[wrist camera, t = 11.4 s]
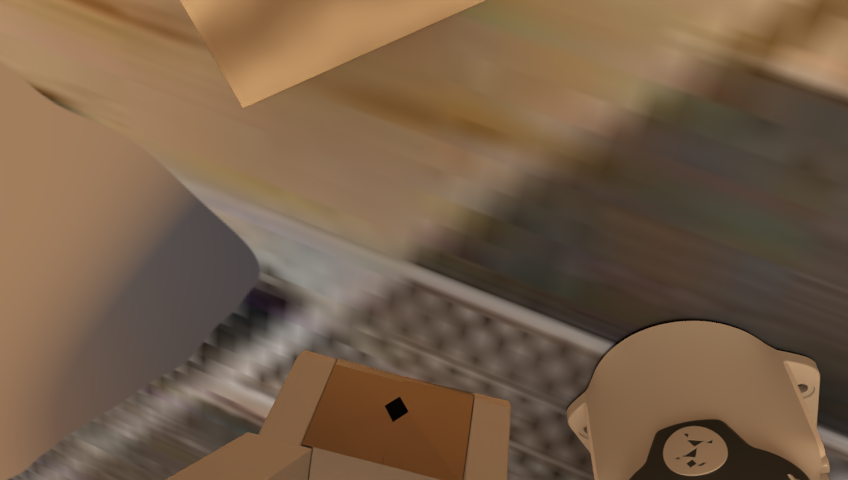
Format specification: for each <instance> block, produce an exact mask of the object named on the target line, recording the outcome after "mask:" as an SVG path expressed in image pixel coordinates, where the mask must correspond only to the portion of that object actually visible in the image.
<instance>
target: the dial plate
mask: <svg viewBox="0 0 848 480" xmlns="http://www.w3.org/2000/svg"><path fill="white" fill-rule="evenodd" d="M180 1H181V3H182V4H183V6H184V8H185V10H186V11H187V13H188V15H189V16H190V18H191V20H192V21H193V23H194V25H195V27H196V28H197V30H198V32H199V33H200V35H201V37H202V39H203V40H204V42H205V44H206V45H207V47H208V49H209V51H210V52H211V54H212V56H213V57H214V59H215V61H216V63H217V64H218V66H219V68H220V69H221V71H222V73H223V74H224V76H225V78H226V80H227V81H228V83H229V85H230V86H231V88H232V90H233V92H234V93H235V95H236V97H237V98H238V100H239V102H240V104H241V105H242V107H243V108H244V107H247V106H249V105H251V104H253V103H256V102H258V101H260V100H262V99H265V98H267V97H269V96H271V95H274V94H276V93H278V92H280V91H283V90H285V89H287V88H289V87H292V86H294V85H296V84H298V83H301V82H303V81H305V80H307V79H310V78H312V77H314V76H316V75H319V74H321V73H323V72H325V71H328V70H330V69H332V68H334V67H337V66H339V65H341V64H343V63H346V62H348V61H350V60H352V59H355V58H357V57H359V56H361V55H364V54H366V53H368V52H370V51H373V50H375V49H377V48H379V47H382V46H384V45H386V44H388V43H391V42H393V41H395V40H397V39H400V38H402V37H404V36H406V35H409V34H411V33H413V32H415V31H418V30H420V29H422V28H424V27H427V26H429V25H431V24H433V23H436V22H438V21H440V20H442V19H445V18H447V17H449V16H451V15H454V14H456V13H458V12H460V11H463V10H465V9H467V8H469V7H472V6H474V5H476V4H478V3H481V2H483V1H485V0H180Z"/></svg>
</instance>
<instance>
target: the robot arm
mask: <svg viewBox="0 0 848 480" xmlns="http://www.w3.org/2000/svg"><path fill="white" fill-rule="evenodd" d="M800 384H802V385H801V386H798V385H800ZM819 387H820V373H819V371H818V368H817V365H816V363H815V362H814V361H813V360H812V359H810V358H808V357H805V356H801V355H798V354H793V353H789V352H784V351H779V350H776V349H774V348H772V347H770V346H768V345H766V344H765V343H763V342H762V341H760V340H759V339H757V338H756V337H754V336H752V335H751V334H749V333H747V332H745V331H742V330H740V329H737V328H734V327H731V326H728V325H724V324H720V323H714V322H707V321H679V322H672V323H666V324H661V325H657V326H653V327H650V328H647V329H645V330H642V331H640V332H637V333H635V334H633V335H631V336H630V337H628V338H626V339H624V340H623V341H621V342H620V343H619V344H617V345H616V346H615V347H614V348H612V349H611V350H610V351H609V352H608V353H607V354H606V355H605V356H604V358H603V359H602V360H601V361H600V363H599V364H598V366H597V368H596V370H595V372H594V374H593V377H592V379H591V382H590V384H589V386H588V388H587V390H586V391H585V392H584V393H583V394H582V395H581V396H579V397H578V398H577V399H576V400H575V401H574V402H573V403H572V404H571V405H570V406H569V407H568V409H567V412H566V415H567V420H568V424H569V426H570V428H571V429H572V430H573V432H574V433H575V434H576V435H577V437H578V438H579V439H580V440H581V442H582V443H583V444H584V446H585V447H586V448H587V449H588V451H589V452H590V453H591V460H592V466H593V473H594V480H830V479H829V476H828V474H827V473H829V472H830V466H829V461H828V458H827V456H826V454H825V449H824V446H823V443H822V440H821V438H820V436H819V433H818V431H817V416H818V401H819ZM510 415H511V406H510V403H509V401H507V400H502V399H498V398H494V397H489V396H485V395H481V394H477V393H474V394H473V393H471V392H467V391H463V390H458V389H454V388H450V387H446V386H442V385H438V384H433V383H429V382H425V381H421V380H417V379H413V378H409V377H403V376H400V375H396V374H393V373H389V372H385V371H382V370H378V369H374V368H371V367H367V366H363V365H360V364H356V363H353V362H349V361H345V360H342V359H335V358H331V357H328V356H324V355H320V354H317V353H313V352H310V351H306V350H304V351H303V352H302V353H301V354H300V355H299V356H298V357H297V359H296V361H295V363H294V365H293V367H292V369H291V371H290V373H289V375H288V377H287V379H286V381H285V383H284V385H283V387H282V389H281V391H280V393H279V395H278V397H277V399H276V401H275V403H274V405H273V406H272V408H271V410H270V412H269V414H268V416H267V418H266V420H265V422H264V424H263V426H262V428H261V430H260V432H259V434H258V435H257V434H253V433H248V432H247V433H245V434H244V435H242V436H240V437H239V438H237V439H235V440H233V441H232V442H230V443H228V444H226V445H225V446H223V447H221V448H220V449H218V450H216V451H214V452H213V453H211V454H209V455H207V456H206V457H204V458H202V459H201V460H199V461H197V462H195V463H194V464H192V465H190V466H189V467H187V468H185V469H183V470H182V471H180V472H178V473H176V474H175V475H173V476H171V477H170V478H168V479H166V480H507V470H508V452H509V433H510ZM586 426H587V427H586Z"/></svg>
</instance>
